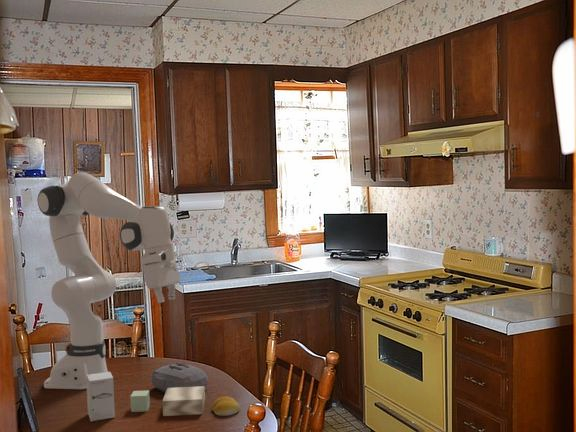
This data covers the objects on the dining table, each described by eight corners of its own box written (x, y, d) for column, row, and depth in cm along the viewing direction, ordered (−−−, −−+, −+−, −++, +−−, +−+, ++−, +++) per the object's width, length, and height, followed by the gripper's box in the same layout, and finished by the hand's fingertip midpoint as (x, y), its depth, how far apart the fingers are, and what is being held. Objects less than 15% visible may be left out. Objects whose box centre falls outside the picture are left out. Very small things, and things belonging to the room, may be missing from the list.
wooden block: (163, 417, 193) (162, 401, 193) (168, 403, 205) (167, 387, 205) (202, 415, 194) (202, 399, 194) (205, 401, 206) (204, 386, 205)
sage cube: (131, 412, 197) (130, 396, 197) (134, 406, 202) (133, 391, 202) (147, 411, 198) (146, 395, 197) (150, 405, 203) (149, 390, 202)
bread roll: (216, 418, 190) (216, 405, 190) (210, 408, 199) (209, 396, 198) (243, 414, 193) (242, 401, 193) (235, 404, 202) (234, 392, 201)
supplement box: (90, 422, 190) (88, 381, 189) (87, 414, 196) (85, 374, 196) (115, 418, 193) (113, 377, 192) (112, 410, 199) (110, 370, 199)
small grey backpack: (146, 390, 218) (185, 402, 205) (145, 366, 217) (184, 376, 205) (179, 378, 229) (218, 388, 217) (178, 355, 229) (217, 365, 216)
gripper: (162, 257, 207) (168, 299, 206) (137, 259, 187) (144, 305, 186) (180, 254, 206) (187, 296, 205) (157, 255, 186) (164, 302, 185)
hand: (166, 300), depth 196 cm, fingers open, 8 cm apart
